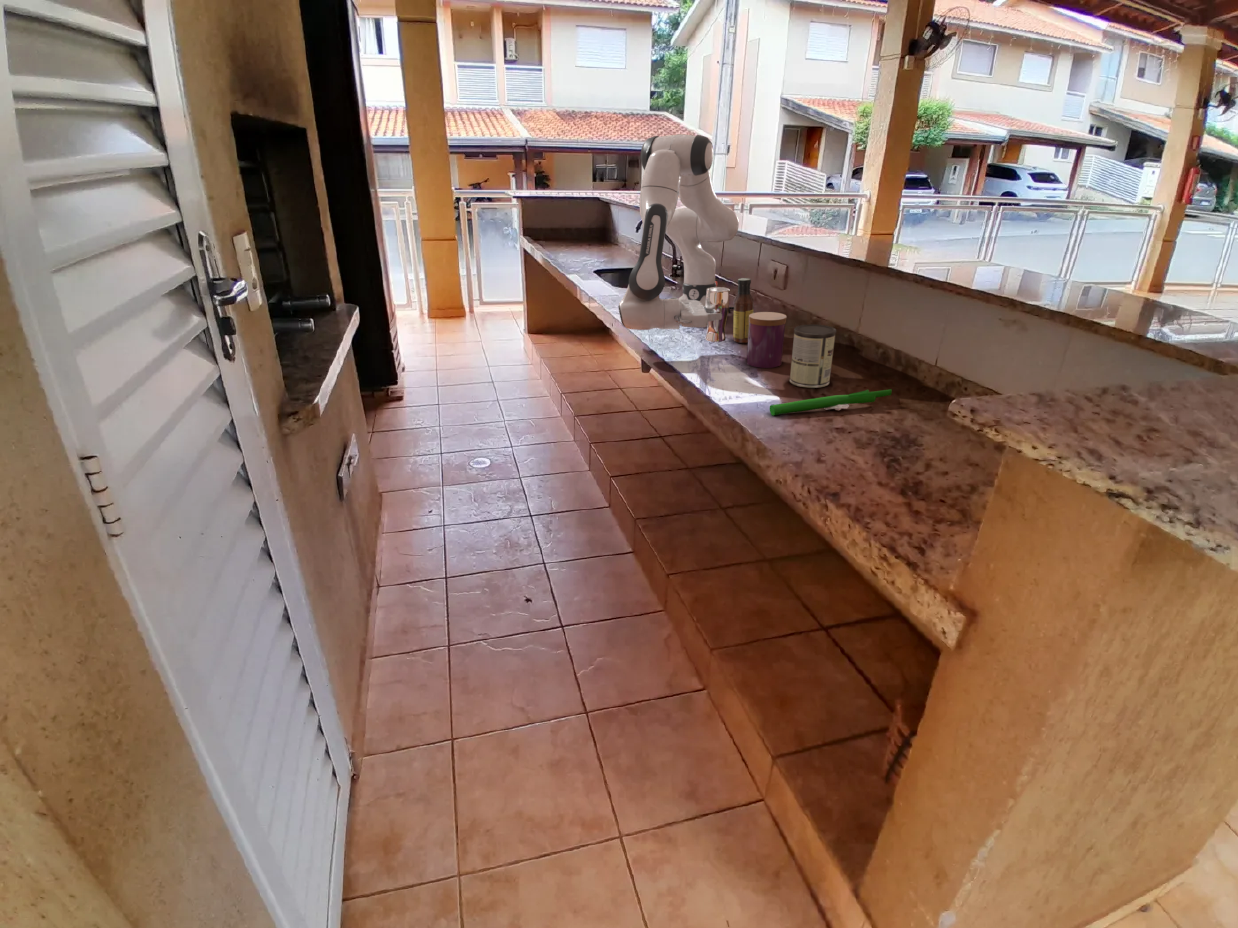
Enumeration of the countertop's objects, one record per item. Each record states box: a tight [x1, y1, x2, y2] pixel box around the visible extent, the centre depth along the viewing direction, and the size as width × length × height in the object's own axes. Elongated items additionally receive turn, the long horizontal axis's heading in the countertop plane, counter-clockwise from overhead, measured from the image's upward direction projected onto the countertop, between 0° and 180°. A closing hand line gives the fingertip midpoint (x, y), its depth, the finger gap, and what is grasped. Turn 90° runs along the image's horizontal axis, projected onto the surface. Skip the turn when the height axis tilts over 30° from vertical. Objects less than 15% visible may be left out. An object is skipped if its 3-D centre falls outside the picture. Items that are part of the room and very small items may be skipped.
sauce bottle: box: [732, 277, 754, 344], centre depth 196 cm, size 7×6×20 cm
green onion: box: [769, 388, 892, 416], centre depth 144 cm, size 5×3×30 cm
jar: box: [745, 311, 787, 369], centre depth 176 cm, size 10×10×14 cm
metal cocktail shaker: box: [704, 286, 730, 343], centre depth 183 cm, size 7×7×15 cm
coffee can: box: [789, 323, 837, 389], centre depth 159 cm, size 10×10×14 cm
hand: (719, 313), depth 183 cm, fingers closed on metal cocktail shaker, 6 cm apart
